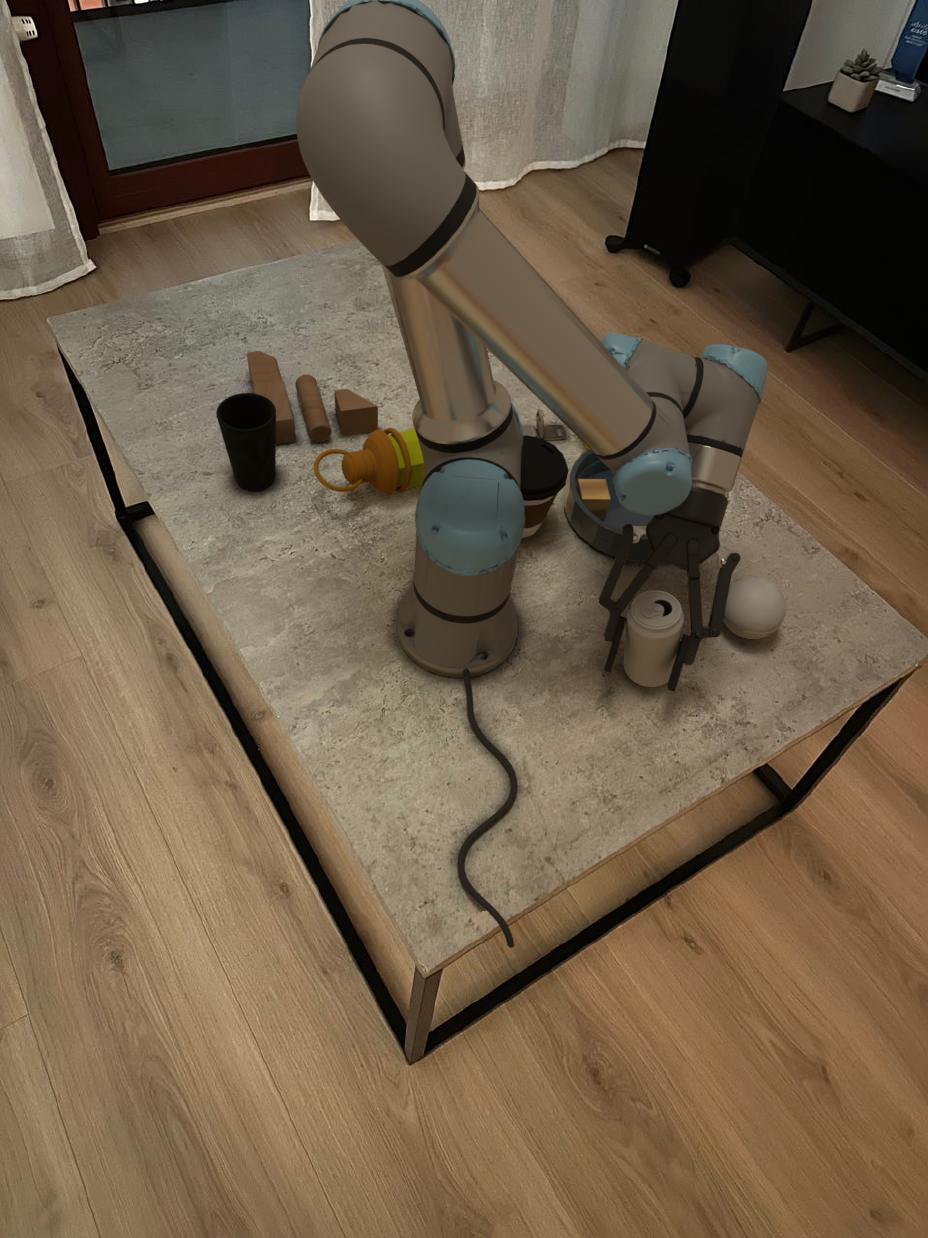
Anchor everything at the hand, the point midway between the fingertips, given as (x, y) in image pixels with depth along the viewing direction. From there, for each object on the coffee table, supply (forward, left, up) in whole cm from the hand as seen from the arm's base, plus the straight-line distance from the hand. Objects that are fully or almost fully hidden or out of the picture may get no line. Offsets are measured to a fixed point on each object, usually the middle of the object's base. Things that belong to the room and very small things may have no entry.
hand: (639, 679), depth 105 cm
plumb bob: (+25, +39, -5) cm, 47 cm away
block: (+30, +12, -5) cm, 33 cm away
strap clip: (+43, +23, -5) cm, 49 cm away
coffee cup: (+24, +21, -6) cm, 33 cm away
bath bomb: (+17, -12, -5) cm, 22 cm away
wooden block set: (+36, +57, -5) cm, 68 cm away
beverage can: (+5, -1, -4) cm, 7 cm away
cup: (+18, +58, -5) cm, 61 cm away
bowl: (+32, +6, -5) cm, 33 cm away
